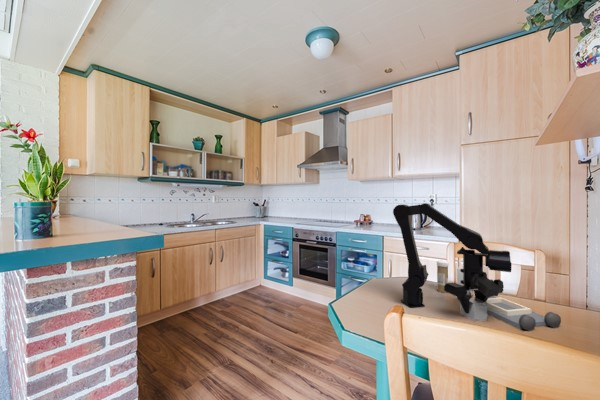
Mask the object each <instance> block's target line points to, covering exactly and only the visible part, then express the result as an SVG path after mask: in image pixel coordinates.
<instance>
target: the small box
mask: <svg viewBox="0 0 600 400" xmlns="http://www.w3.org/2000/svg"><path fill="white" fill-rule="evenodd" d="M460 269H463V265H459V266H458V268H457V269H456V270H457V273H456V275H457V277H456V278H457V279H456V280H457V284H459V285H462V286H463V285H464V284H462V283H461V280H463V272H461V270H460ZM470 292H471V295H472V296H473V294H474V291H470Z"/></svg>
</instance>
